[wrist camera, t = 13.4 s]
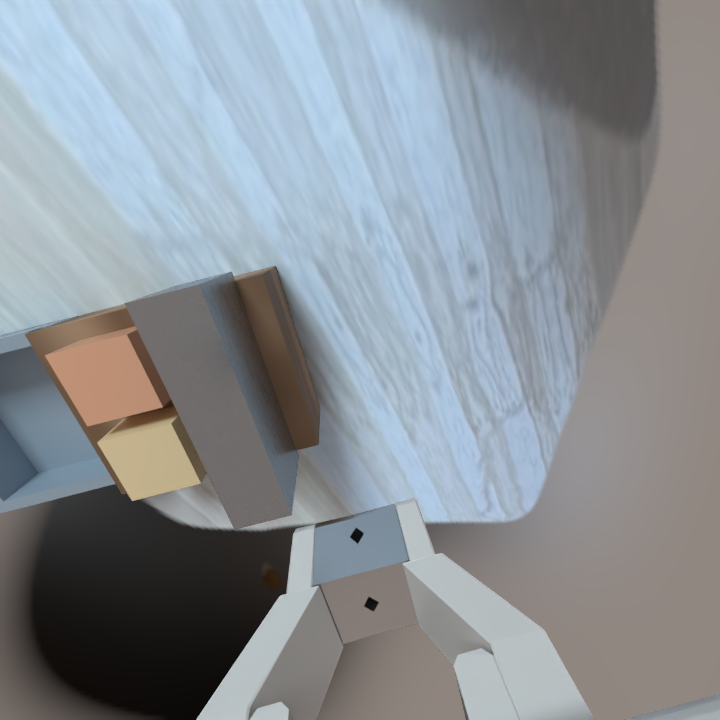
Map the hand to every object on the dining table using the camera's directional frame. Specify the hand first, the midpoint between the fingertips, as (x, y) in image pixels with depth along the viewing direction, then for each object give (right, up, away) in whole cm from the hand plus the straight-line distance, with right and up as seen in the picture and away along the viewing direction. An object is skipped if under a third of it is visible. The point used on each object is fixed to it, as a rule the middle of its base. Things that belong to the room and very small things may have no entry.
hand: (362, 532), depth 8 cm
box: (-22, +1, +16) cm, 27 cm away
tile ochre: (-12, -1, +13) cm, 17 cm away
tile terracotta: (-13, +4, +11) cm, 17 cm away
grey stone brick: (-7, +3, +12) cm, 14 cm away
